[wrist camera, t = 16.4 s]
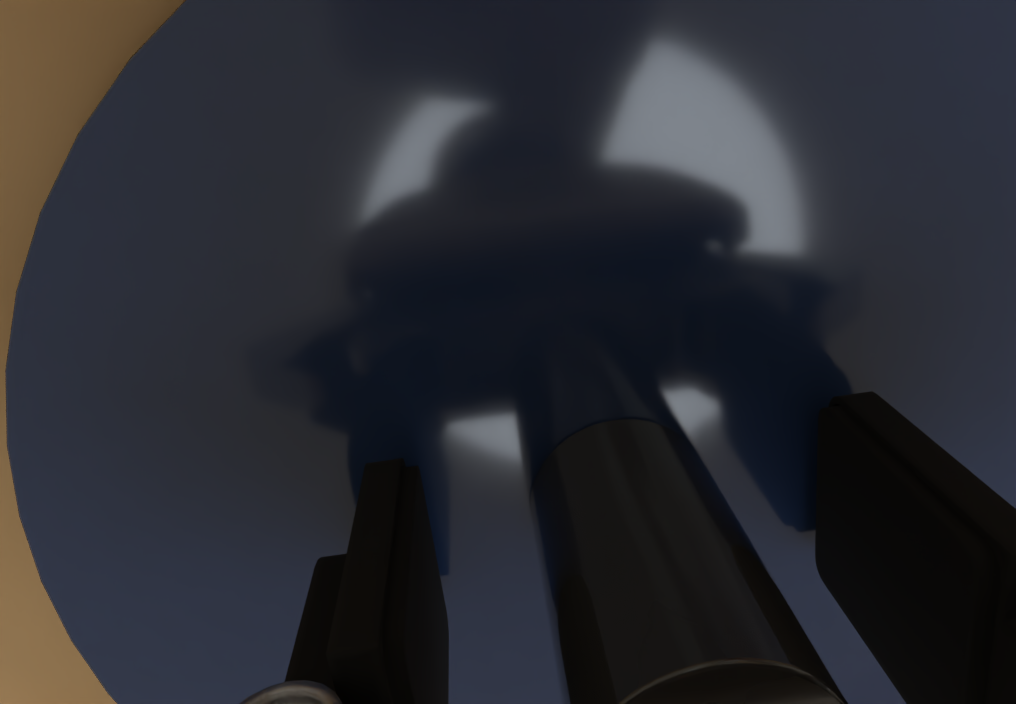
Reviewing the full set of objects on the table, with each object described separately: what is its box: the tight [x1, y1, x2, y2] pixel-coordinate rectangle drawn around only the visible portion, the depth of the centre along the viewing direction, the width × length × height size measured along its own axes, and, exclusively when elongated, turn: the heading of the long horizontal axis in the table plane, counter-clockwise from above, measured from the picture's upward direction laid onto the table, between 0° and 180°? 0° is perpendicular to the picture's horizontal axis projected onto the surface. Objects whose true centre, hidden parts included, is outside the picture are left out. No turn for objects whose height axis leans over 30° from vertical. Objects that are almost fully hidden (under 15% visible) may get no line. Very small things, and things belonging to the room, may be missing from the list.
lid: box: [5, 0, 1016, 704], centre depth 11 cm, size 18×18×6 cm
